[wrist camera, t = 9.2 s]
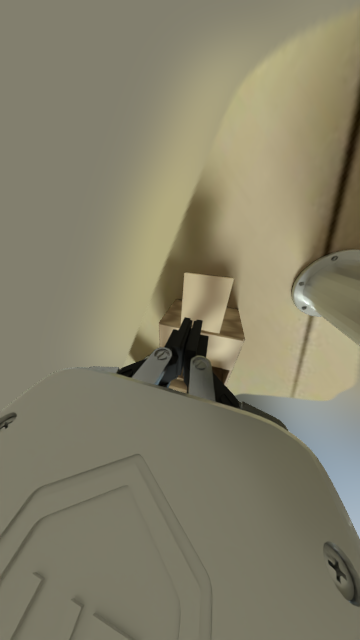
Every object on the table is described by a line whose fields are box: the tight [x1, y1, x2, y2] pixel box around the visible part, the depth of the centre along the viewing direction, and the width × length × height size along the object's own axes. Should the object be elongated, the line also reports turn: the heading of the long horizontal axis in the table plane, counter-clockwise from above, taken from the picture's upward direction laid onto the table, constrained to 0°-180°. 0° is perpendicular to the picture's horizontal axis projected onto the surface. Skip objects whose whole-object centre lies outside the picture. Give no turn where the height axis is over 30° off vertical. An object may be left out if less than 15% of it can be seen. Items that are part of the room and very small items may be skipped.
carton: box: [159, 299, 245, 386], centre depth 34 cm, size 16×16×12 cm
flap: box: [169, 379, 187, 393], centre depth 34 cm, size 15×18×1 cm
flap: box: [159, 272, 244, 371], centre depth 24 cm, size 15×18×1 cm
